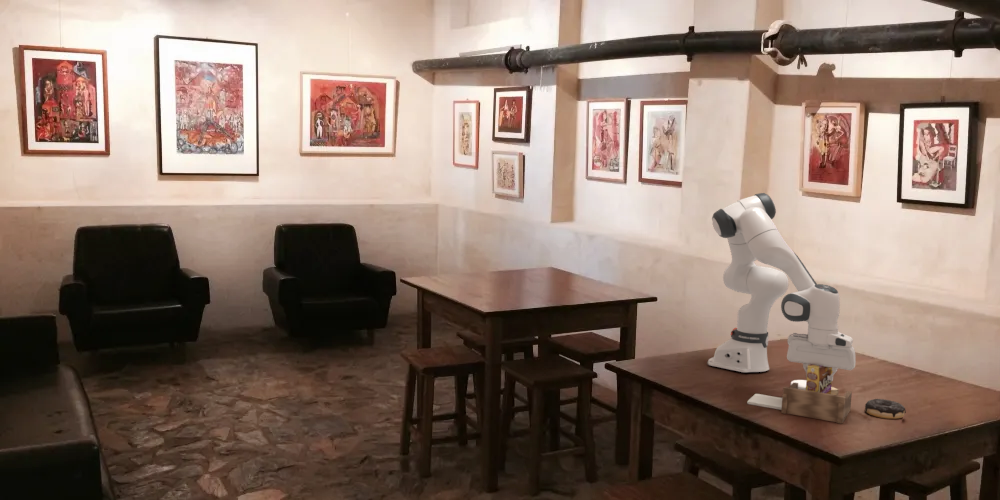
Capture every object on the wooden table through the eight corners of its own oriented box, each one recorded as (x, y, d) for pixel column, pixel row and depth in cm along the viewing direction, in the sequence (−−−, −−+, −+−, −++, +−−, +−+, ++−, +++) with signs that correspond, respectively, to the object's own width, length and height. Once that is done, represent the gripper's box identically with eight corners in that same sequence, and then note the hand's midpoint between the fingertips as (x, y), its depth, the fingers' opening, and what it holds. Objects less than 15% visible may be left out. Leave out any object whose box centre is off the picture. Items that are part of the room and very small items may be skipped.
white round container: (826, 397, 278) (827, 387, 278) (799, 397, 277) (800, 387, 276) (810, 388, 288) (811, 379, 288) (784, 389, 286) (785, 379, 286)
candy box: (816, 415, 257) (818, 367, 256) (803, 411, 260) (806, 364, 259) (831, 410, 263) (833, 363, 261) (818, 407, 266) (820, 360, 264)
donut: (863, 407, 268) (864, 395, 267) (903, 412, 263) (904, 400, 263) (865, 417, 258) (866, 404, 257) (906, 422, 253) (907, 410, 253)
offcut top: (816, 397, 265) (816, 391, 265) (805, 393, 270) (805, 387, 269) (838, 395, 268) (838, 389, 268) (827, 391, 273) (827, 385, 273)
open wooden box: (781, 413, 258) (783, 388, 257) (792, 400, 273) (793, 376, 272) (842, 423, 249) (844, 398, 248) (850, 409, 264) (852, 385, 263)
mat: (747, 403, 267) (747, 401, 267) (755, 395, 277) (755, 393, 277) (782, 409, 262) (782, 407, 262) (789, 401, 271) (789, 399, 271)
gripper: (786, 333, 261) (783, 376, 263) (855, 342, 251) (851, 386, 253) (790, 330, 267) (787, 371, 268) (858, 339, 256) (854, 382, 258)
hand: (819, 379), depth 260 cm, fingers closed on candy box, 5 cm apart
